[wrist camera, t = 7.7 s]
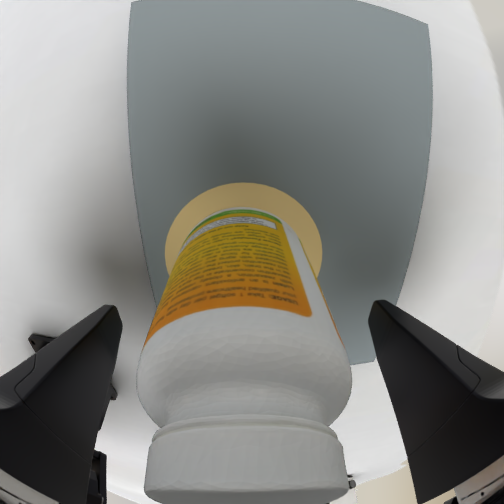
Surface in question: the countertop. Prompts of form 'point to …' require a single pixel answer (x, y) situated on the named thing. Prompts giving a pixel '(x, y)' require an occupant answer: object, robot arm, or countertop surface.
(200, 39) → the slate board
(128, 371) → the countertop surface
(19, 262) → the countertop surface
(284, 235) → the supplement bottle
